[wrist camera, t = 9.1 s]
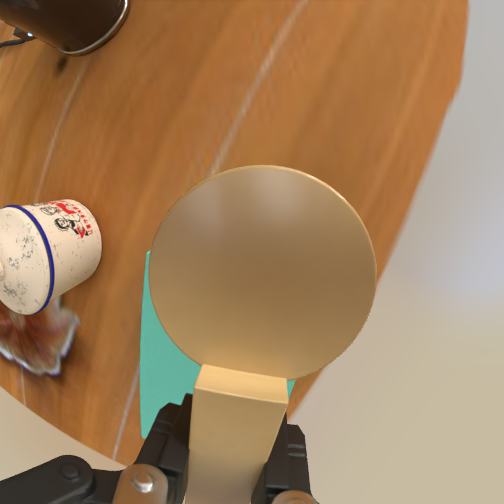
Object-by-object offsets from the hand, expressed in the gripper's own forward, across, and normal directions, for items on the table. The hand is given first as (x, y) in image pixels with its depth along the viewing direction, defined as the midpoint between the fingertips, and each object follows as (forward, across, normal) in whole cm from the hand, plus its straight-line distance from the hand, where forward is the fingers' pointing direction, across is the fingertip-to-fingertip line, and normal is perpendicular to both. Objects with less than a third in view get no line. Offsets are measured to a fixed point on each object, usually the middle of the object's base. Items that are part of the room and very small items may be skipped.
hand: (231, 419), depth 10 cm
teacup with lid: (+17, +20, 0) cm, 27 cm away
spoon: (0, 0, 0) cm, 0 cm away
